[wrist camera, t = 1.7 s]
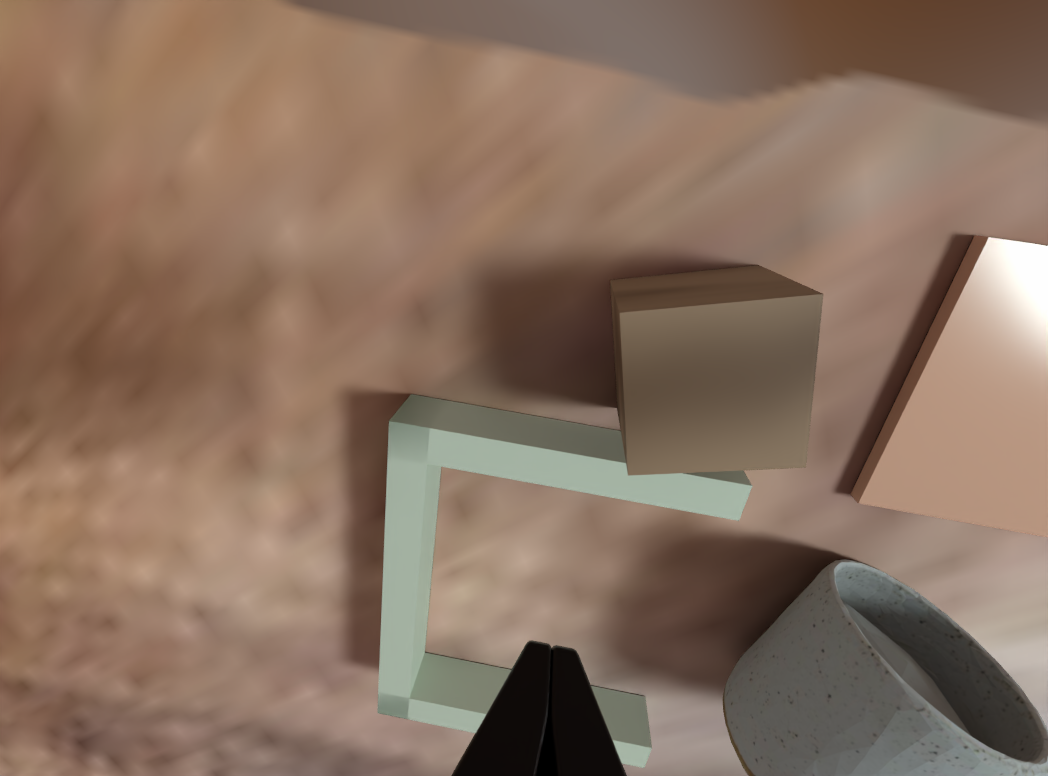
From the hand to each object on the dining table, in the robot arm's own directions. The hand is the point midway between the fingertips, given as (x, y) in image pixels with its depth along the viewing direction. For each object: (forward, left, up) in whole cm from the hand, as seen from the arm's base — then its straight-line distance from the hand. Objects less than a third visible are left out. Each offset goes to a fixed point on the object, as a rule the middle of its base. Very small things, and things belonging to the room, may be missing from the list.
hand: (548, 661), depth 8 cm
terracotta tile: (+3, -17, -12) cm, 21 cm away
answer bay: (-9, 0, -12) cm, 15 cm away
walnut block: (+3, -4, -12) cm, 13 cm away
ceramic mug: (-9, -14, -12) cm, 21 cm away
